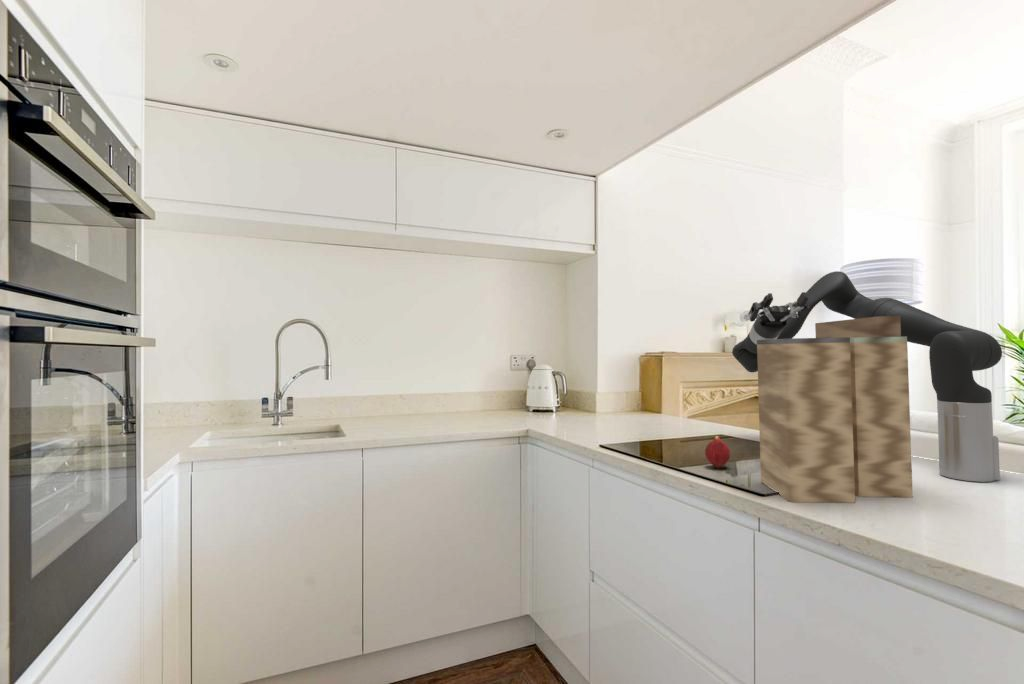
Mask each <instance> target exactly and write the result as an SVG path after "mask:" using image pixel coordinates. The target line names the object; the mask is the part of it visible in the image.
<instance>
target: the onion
mask: <svg viewBox="0 0 1024 684" xmlns="http://www.w3.org/2000/svg"><path fill="white" fill-rule="evenodd" d="M704 453H705V457H706V459H707V460H708V462H709V463H710V465H712V466H714V467H715V468H717V469H719V468H721V467H723V466H724V465H725V464H727V462H728V461H729V460H730V458H731V457H730V456H731V451H730V448H729V446H728V444H726V442H724V441H723V440H721V438H720V436H718V435H716V436H714V439H713V440H712V441H710V442H709V443H708V444H707V445H706V448H705V451H704Z"/></svg>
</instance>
